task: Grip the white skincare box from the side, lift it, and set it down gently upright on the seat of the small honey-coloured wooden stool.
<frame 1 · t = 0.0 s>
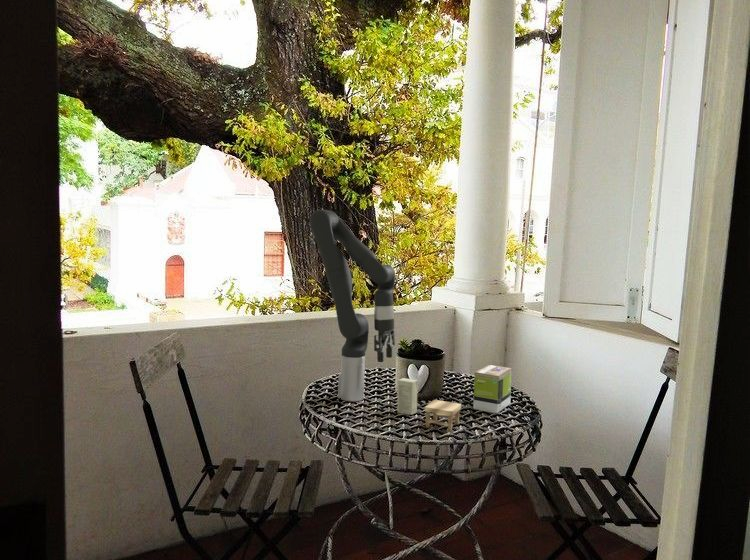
hand: (384, 359, 244), 17 cm above the table, tool pointing down, fingers open, 8 cm apart
tea box: (491, 407, 247), on the table
skincare box: (406, 412, 236), on the table
wooden stool: (442, 425, 223), on the table
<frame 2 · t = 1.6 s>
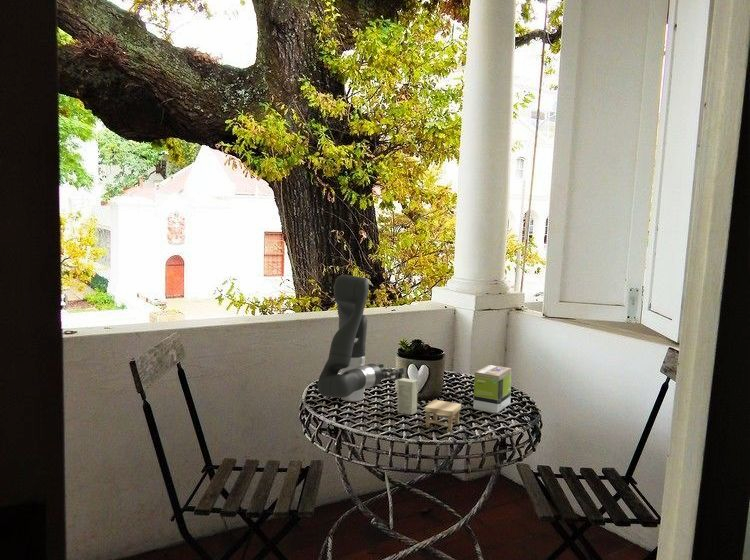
hand: (392, 368, 225), 18 cm above the table, tool horizontal, fingers open, 8 cm apart
nothing on the table moved.
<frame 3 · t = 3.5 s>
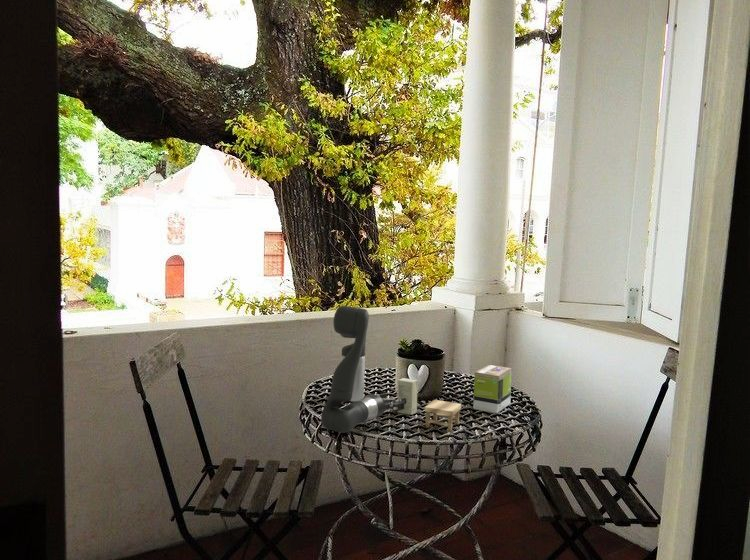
hand: (395, 398, 229), 7 cm above the table, tool horizontal, fingers open, 8 cm apart
nothing on the table moved.
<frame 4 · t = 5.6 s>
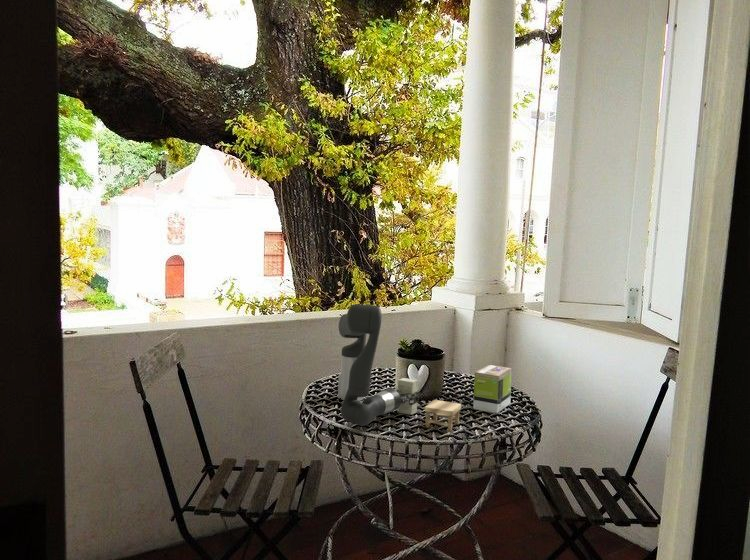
hand: (410, 392, 237), 7 cm above the table, tool horizontal, fingers closed on skincare box, 6 cm apart
skincare box: (406, 412, 236), on the table, touching gripper
everything else where it was.
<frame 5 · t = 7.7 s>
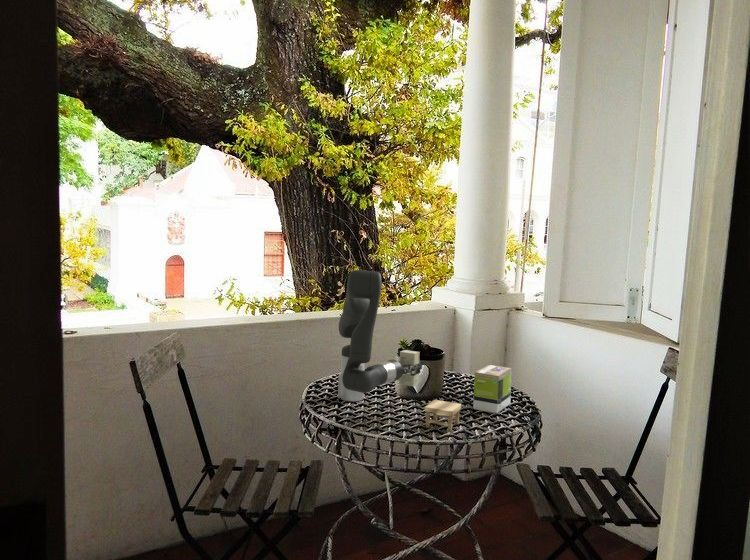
hand: (412, 364, 236), 18 cm above the table, tool horizontal, fingers closed on skincare box, 6 cm apart
skincare box: (408, 384, 235), point 10 cm above the table, touching gripper
everything else where it was.
when the fingers open (15 cm above the table, at t = 9.9 s): skincare box drops 1 cm, resting on wooden stool.
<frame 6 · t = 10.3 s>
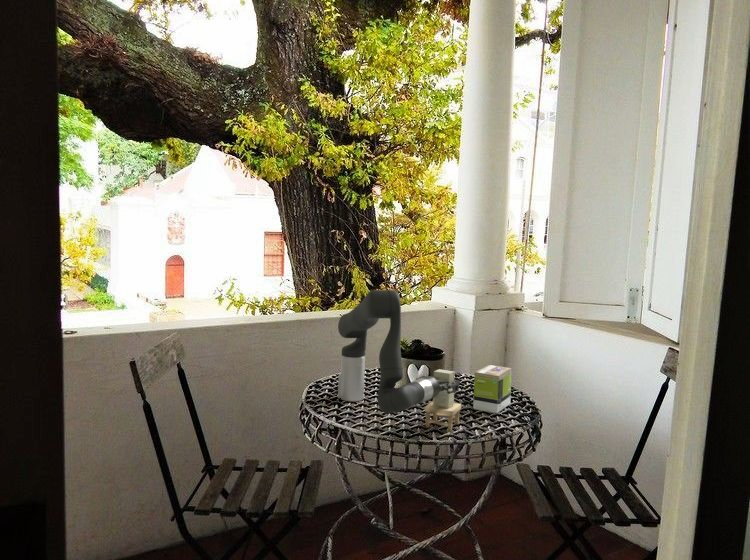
hand: (447, 380, 223), 16 cm above the table, tool horizontal, fingers open, 8 cm apart
skincare box: (442, 406, 222), point 7 cm above the table, touching wooden stool
everything else where it was.
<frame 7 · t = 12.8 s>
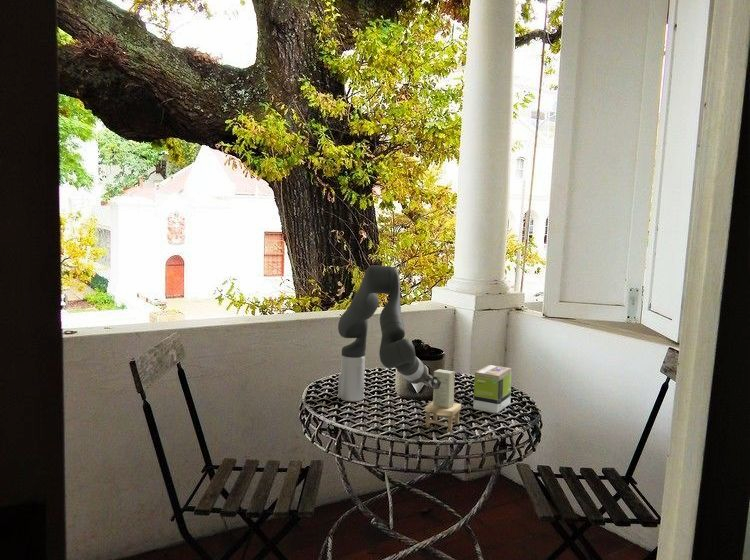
hand: (424, 382, 217), 16 cm above the table, tool tilted 60°, fingers open, 8 cm apart
nothing on the table moved.
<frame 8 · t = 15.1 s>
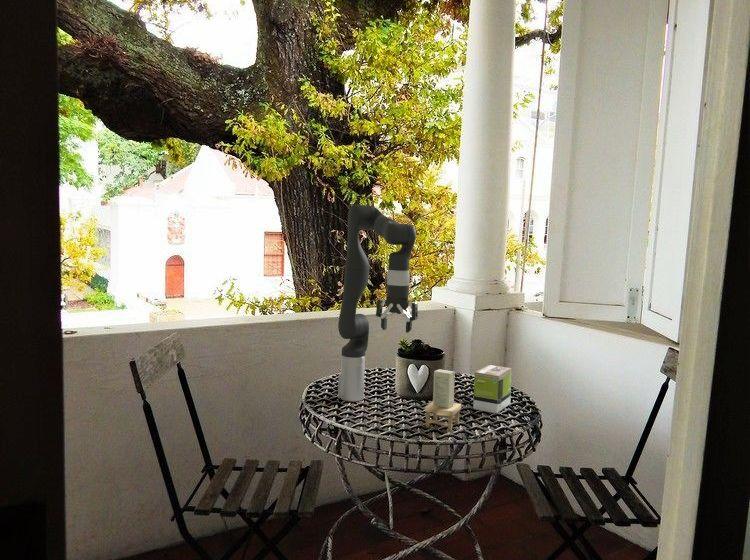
hand: (395, 331, 217), 33 cm above the table, tool pointing down, fingers open, 8 cm apart
nothing on the table moved.
at the end: skincare box inside the target area on the wooden stool (0.1 cm from its centre), point 6.8 cm above the wooden stool's base; skincare box tilted 0°; the gripper is holding nothing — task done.
